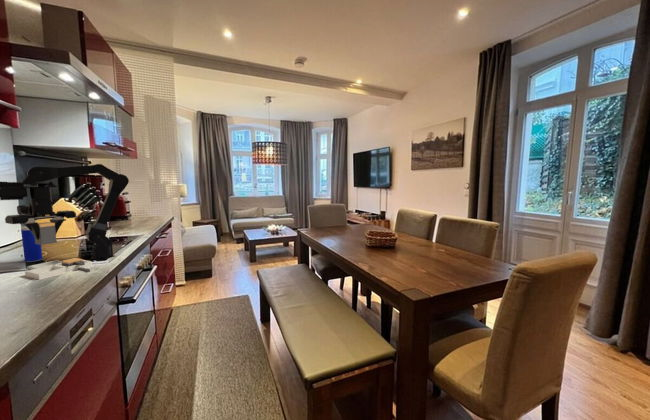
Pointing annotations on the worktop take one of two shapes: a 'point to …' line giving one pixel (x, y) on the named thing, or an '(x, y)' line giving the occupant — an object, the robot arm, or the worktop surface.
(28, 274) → the two-cubby shelf
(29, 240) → the beverage can
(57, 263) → the tray
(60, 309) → the worktop surface
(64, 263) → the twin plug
